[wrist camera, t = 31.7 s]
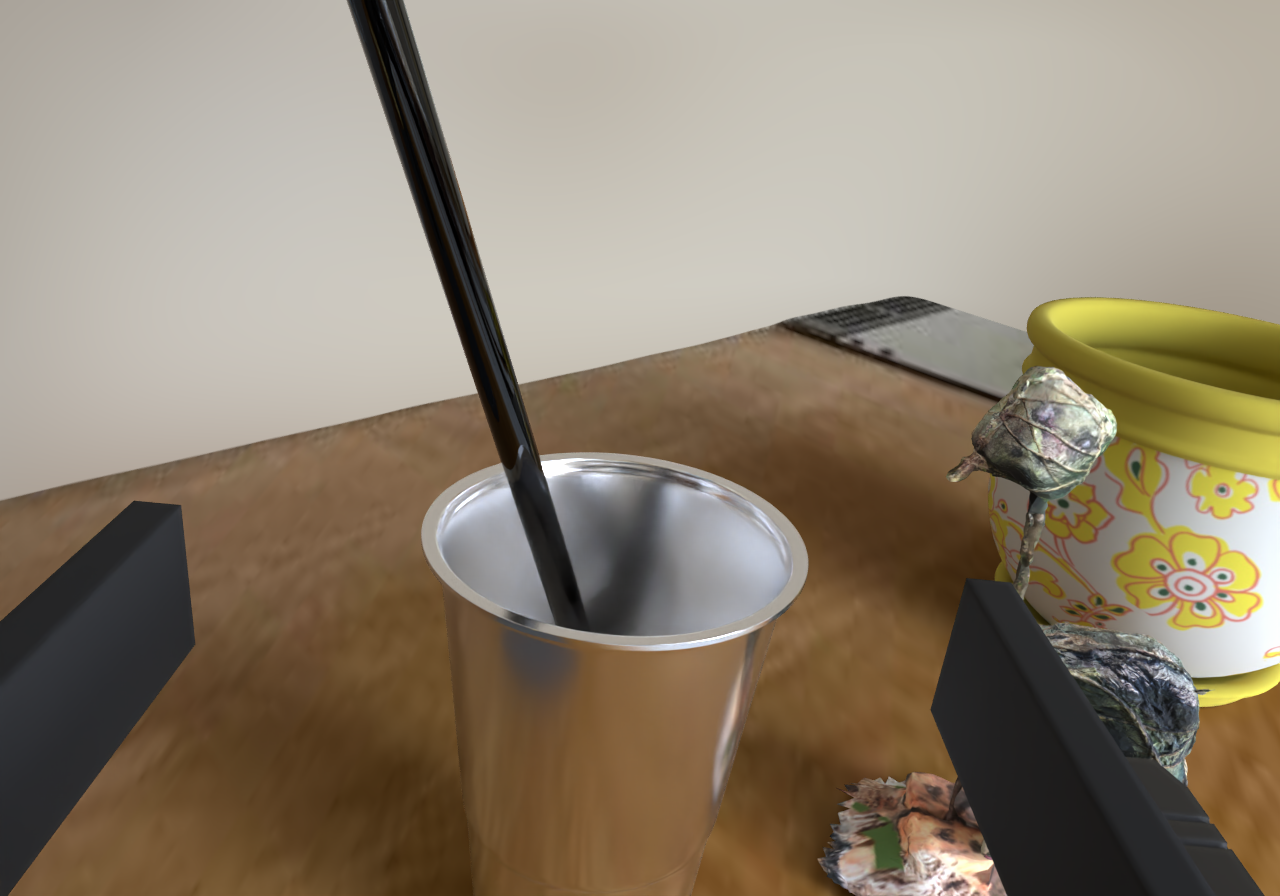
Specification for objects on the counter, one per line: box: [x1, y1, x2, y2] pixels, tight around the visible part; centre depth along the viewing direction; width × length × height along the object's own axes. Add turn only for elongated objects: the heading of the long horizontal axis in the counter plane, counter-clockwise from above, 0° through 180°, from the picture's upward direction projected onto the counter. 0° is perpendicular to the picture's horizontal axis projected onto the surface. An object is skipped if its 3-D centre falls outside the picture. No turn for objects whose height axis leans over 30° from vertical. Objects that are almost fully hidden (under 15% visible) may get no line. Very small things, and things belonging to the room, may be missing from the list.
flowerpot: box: [988, 297, 1280, 707], centre depth 49 cm, size 18×18×16 cm
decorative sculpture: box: [818, 366, 1215, 896], centre depth 31 cm, size 8×11×20 cm
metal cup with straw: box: [347, 0, 808, 896], centre depth 25 cm, size 11×11×30 cm
